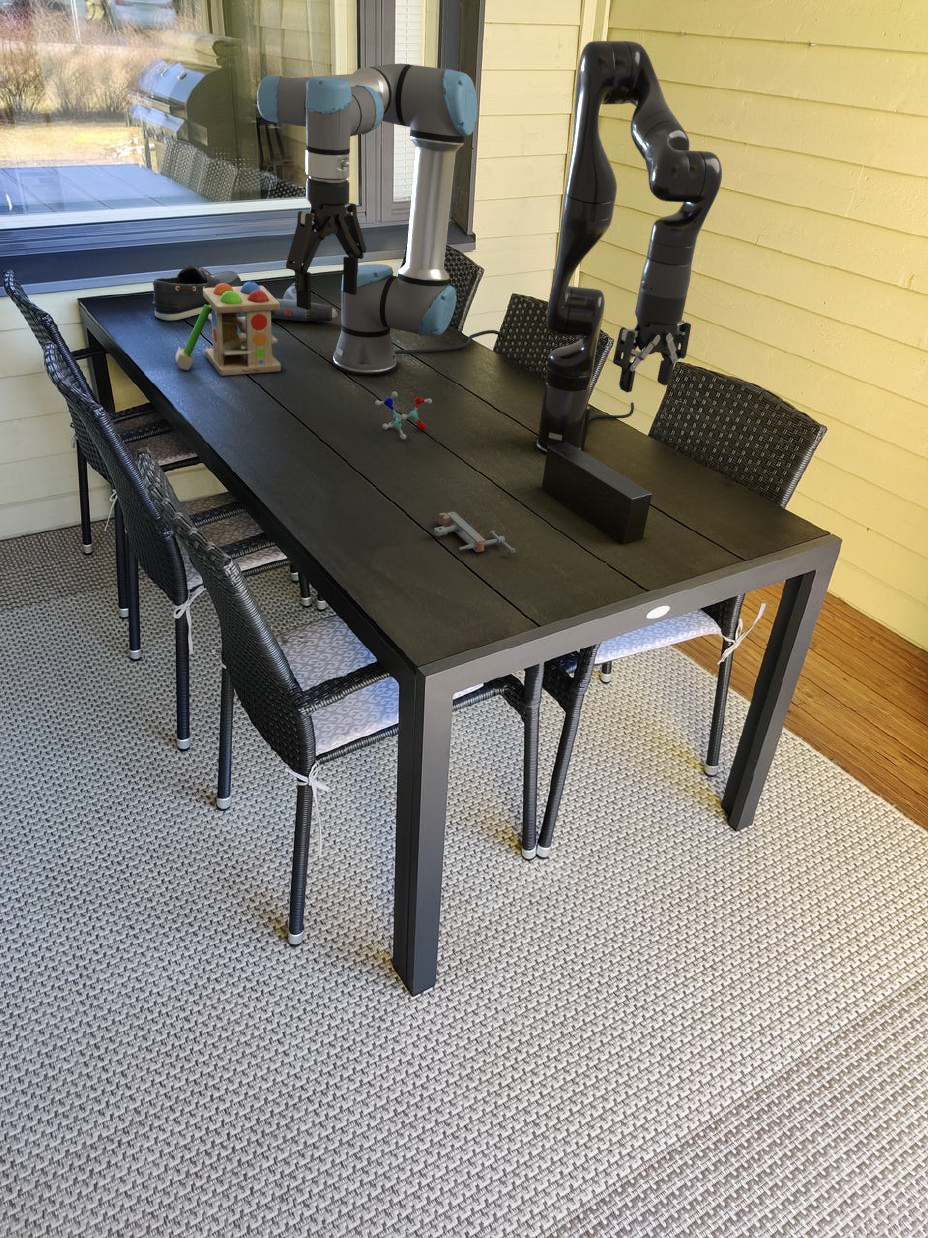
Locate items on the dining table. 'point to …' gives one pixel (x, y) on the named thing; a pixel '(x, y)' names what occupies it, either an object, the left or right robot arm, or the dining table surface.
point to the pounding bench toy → (229, 347)
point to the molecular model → (399, 418)
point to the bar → (596, 492)
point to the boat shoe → (187, 291)
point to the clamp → (466, 533)
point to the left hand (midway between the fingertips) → (327, 300)
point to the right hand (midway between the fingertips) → (644, 387)
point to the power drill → (301, 309)
